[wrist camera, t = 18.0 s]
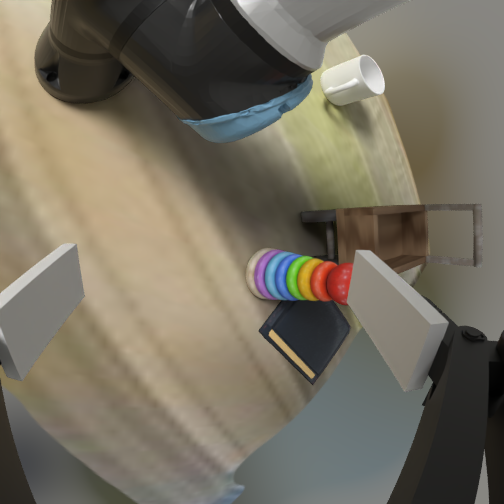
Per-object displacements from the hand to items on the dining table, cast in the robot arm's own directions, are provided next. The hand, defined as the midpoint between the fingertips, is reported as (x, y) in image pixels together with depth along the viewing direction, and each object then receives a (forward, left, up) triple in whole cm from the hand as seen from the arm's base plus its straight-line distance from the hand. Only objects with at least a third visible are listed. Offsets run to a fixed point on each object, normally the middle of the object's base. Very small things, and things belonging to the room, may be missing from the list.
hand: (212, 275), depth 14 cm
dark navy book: (+20, +32, -28) cm, 47 cm away
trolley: (+3, +38, -27) cm, 47 cm away
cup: (-26, +42, -27) cm, 57 cm away
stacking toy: (+7, +23, -27) cm, 36 cm away
